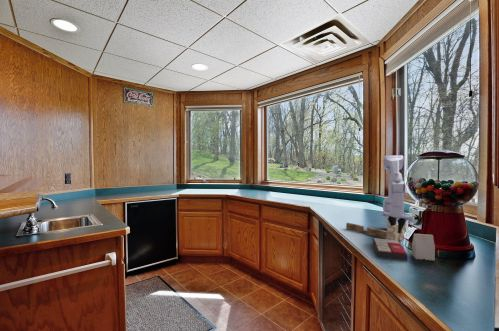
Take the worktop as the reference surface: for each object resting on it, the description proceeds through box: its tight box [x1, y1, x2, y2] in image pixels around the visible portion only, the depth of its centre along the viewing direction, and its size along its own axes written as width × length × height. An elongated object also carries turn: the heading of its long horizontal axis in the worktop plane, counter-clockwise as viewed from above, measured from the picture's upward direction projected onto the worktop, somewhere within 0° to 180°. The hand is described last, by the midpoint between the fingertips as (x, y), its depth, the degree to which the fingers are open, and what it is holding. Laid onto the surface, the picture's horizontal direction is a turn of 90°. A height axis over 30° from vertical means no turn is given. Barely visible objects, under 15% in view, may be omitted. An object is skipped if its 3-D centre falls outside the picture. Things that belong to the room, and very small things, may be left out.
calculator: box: [372, 237, 408, 262], centre depth 104 cm, size 11×4×15 cm
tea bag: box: [411, 233, 436, 262], centre depth 98 cm, size 4×7×10 cm, turn 72°
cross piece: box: [386, 222, 407, 242], centre depth 118 cm, size 18×2×8 cm, turn 128°
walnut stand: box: [345, 222, 387, 239], centre depth 131 cm, size 22×2×4 cm, turn 38°
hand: (397, 232), depth 118 cm, fingers closed on cross piece, 2 cm apart
